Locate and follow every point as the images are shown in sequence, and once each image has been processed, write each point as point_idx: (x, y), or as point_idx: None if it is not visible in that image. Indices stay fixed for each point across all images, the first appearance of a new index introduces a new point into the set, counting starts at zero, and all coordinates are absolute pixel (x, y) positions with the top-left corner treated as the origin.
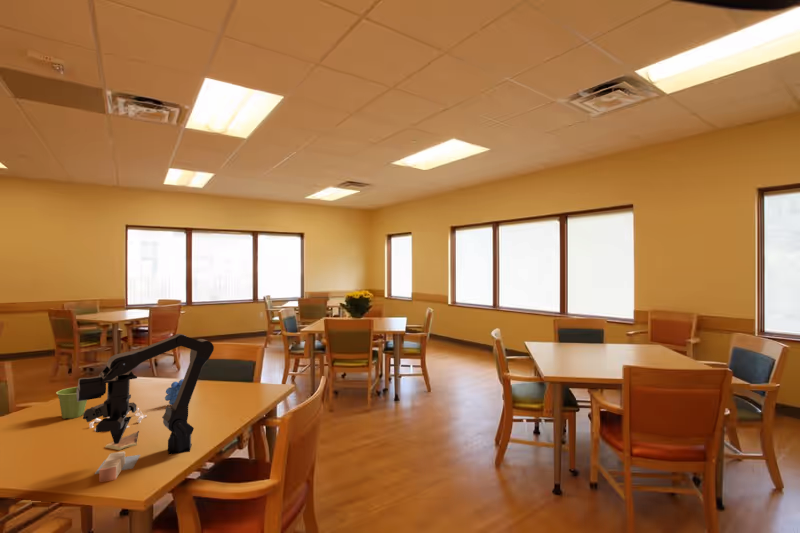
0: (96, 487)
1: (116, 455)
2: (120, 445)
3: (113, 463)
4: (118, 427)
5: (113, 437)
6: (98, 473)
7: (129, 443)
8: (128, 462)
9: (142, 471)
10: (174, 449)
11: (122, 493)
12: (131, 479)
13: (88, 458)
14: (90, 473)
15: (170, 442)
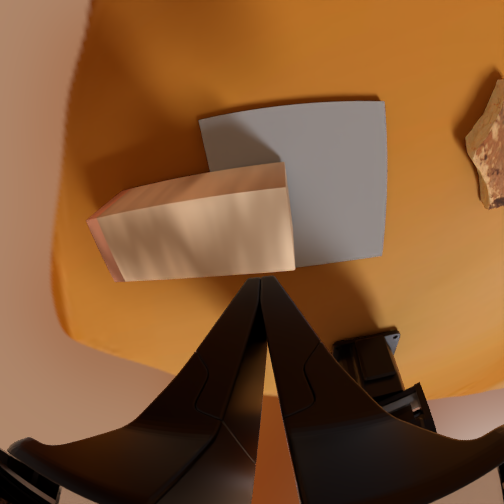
0: (94, 198)
1: (242, 241)
2: (488, 150)
3: (149, 258)
4: (29, 481)
5: (217, 332)
6: (203, 138)
7: (493, 183)
8: (307, 235)
9: (213, 307)
10: (343, 363)
11: (79, 295)
12: (153, 292)
13: (424, 20)
14: (231, 85)
15: (358, 375)
